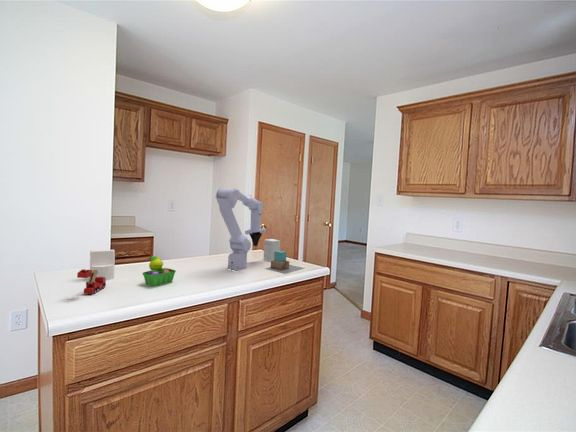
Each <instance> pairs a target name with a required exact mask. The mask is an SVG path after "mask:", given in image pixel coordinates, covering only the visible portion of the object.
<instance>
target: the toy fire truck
mask: <svg viewBox="0 0 576 432" xmlns="http://www.w3.org/2000/svg"><path fill="white" fill-rule="evenodd" d="M97 274H98V271H97V270H90V269H83V268H82V269H81V270H79V271H78V272H77V275H76V277H77V278H81V279H87V278H89V279H88V281H86V283H85V288H84V289H83V295H93V294H94V295H95V294H96V293H99V292H100V290H103V289H105V287H106V285H107V284H106V283H107V280H106V279H105V277H96V276H97ZM94 280H95V281H94Z"/></svg>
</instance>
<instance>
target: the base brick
mask: <svg viewBox="0 0 576 432" xmlns="http://www.w3.org/2000/svg"><path fill="white" fill-rule="evenodd" d="M289 265H290V260H287V259H286V261H284V262H277V261H274V260H272V261H271V262H270V267H271V268H272V269H276V270H280V271H282V270H285V269H289Z"/></svg>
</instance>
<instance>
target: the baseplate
mask: <svg viewBox="0 0 576 432" xmlns="http://www.w3.org/2000/svg"><path fill="white" fill-rule="evenodd" d="M304 269H306V268H305V267H301V266H297V265H293V264H289V269H285V270H282V271H280V270H276V269H272V268H271V266H270V267H266V268H264V270H267V271H271V272H272V271H273V272H276V273H280V274H284V275H287V274H290V273H293V272H297V271H300V270H304Z"/></svg>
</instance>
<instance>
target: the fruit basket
mask: <svg viewBox="0 0 576 432" xmlns="http://www.w3.org/2000/svg"><path fill="white" fill-rule="evenodd" d="M163 266H164V261H162V259H161V258H159V256H157V255H153V256H151V257H150V261H149V266H148V268H149V270H147V271H143V272H142V276H143V278H144V282H145V285H146V286H149V287H153V288H155V287H157V286H162V285H166V284H170V283H172V282H173V279H174V276H175V274H176V273H177V270H175V269H172V268H169V267H163Z"/></svg>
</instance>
